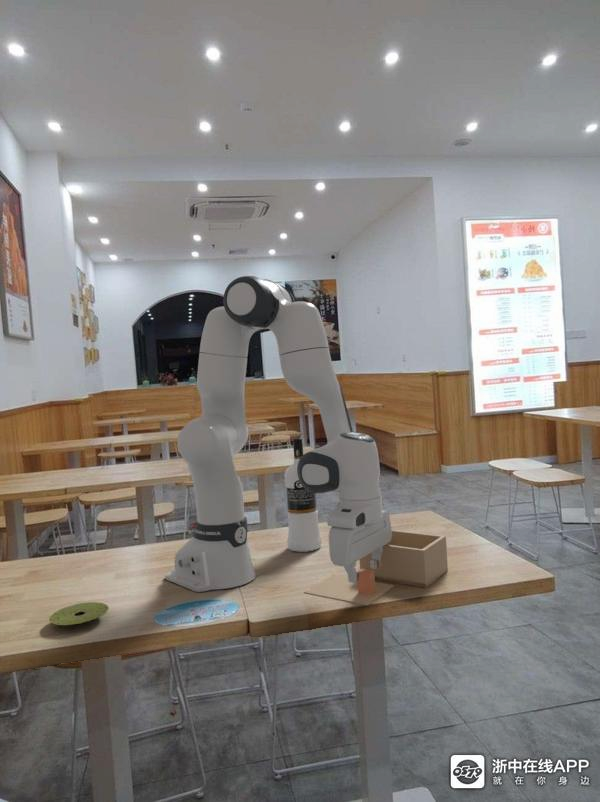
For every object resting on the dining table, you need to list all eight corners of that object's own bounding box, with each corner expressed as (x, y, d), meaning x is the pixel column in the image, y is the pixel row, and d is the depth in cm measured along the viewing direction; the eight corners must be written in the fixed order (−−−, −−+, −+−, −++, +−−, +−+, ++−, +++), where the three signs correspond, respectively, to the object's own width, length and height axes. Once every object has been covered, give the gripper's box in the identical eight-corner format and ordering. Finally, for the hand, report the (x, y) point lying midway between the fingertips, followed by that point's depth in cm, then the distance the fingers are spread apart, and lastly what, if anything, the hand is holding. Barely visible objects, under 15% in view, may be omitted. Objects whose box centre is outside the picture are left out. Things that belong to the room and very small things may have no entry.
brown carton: (360, 576, 134) (358, 542, 133) (385, 561, 143) (383, 528, 143) (426, 587, 124) (424, 550, 124) (447, 570, 134) (445, 536, 134)
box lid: (304, 595, 126) (302, 571, 126) (333, 578, 136) (331, 555, 135) (367, 608, 117) (365, 582, 117) (393, 589, 126) (392, 564, 126)
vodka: (324, 542, 162) (317, 435, 161) (318, 553, 153) (311, 439, 152) (291, 543, 164) (284, 436, 163) (284, 553, 155) (276, 440, 154)
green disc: (43, 638, 112) (42, 627, 112) (56, 615, 123) (56, 606, 123) (105, 629, 114) (104, 619, 114) (112, 607, 125) (111, 598, 125)
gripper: (371, 498, 133) (375, 558, 134) (321, 519, 117) (326, 587, 117) (397, 500, 129) (400, 562, 130) (349, 522, 113) (353, 593, 114)
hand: (365, 574), depth 124 cm, fingers open, 8 cm apart
